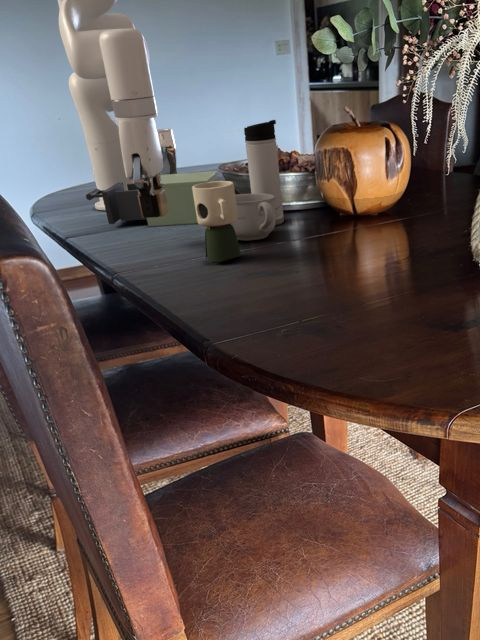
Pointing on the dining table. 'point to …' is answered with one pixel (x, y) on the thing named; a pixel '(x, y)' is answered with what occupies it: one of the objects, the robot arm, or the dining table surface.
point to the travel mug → (264, 163)
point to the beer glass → (167, 151)
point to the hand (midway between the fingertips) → (155, 212)
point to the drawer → (119, 202)
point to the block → (159, 202)
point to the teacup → (254, 216)
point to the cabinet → (181, 197)
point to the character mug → (217, 218)
